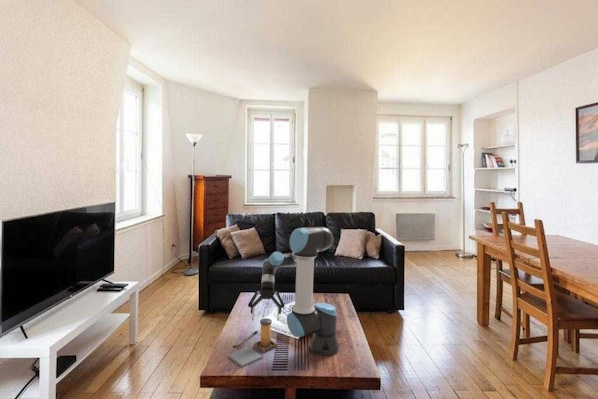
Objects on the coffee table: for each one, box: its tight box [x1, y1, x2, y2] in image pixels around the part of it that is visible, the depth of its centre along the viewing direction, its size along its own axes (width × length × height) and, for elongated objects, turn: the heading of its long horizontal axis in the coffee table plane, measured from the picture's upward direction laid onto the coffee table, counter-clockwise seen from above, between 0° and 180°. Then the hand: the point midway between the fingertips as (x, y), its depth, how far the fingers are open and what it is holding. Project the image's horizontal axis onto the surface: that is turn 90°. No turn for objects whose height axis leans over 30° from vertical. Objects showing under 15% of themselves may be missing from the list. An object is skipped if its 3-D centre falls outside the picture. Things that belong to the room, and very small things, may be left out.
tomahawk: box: [232, 330, 259, 350], centre depth 178 cm, size 21×7×1 cm, turn 152°
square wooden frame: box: [253, 340, 278, 353], centre depth 171 cm, size 9×9×2 cm
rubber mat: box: [228, 347, 264, 368], centre depth 160 cm, size 12×12×1 cm
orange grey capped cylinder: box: [259, 318, 272, 349], centre depth 171 cm, size 6×6×14 cm
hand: (265, 319), depth 177 cm, fingers open, 13 cm apart
